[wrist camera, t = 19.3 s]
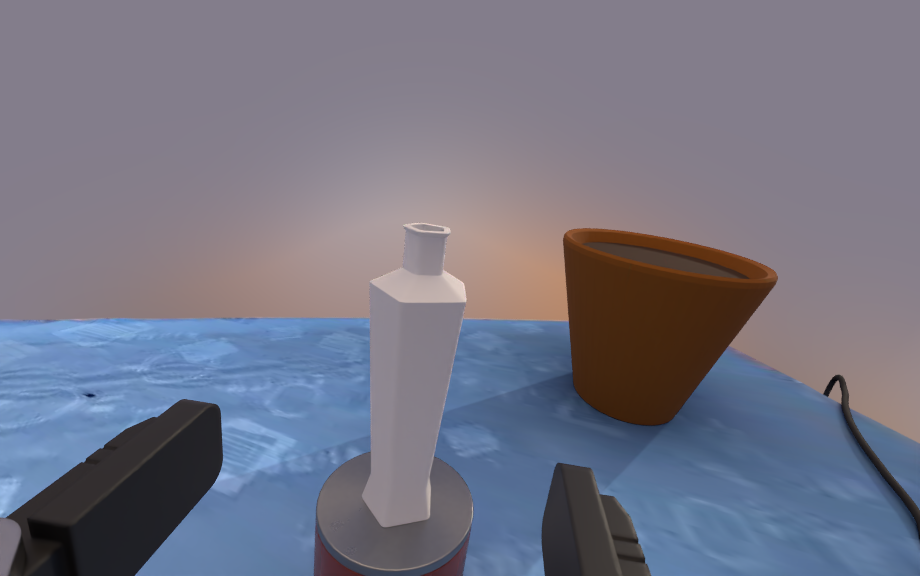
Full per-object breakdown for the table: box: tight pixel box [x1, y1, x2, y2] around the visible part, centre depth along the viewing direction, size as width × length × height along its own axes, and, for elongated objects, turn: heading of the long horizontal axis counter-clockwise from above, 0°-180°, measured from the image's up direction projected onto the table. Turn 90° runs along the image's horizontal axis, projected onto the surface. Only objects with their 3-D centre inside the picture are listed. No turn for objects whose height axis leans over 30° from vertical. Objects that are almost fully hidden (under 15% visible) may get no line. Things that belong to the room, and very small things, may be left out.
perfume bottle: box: [362, 223, 467, 527], centre depth 21 cm, size 5×4×15 cm
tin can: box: [314, 452, 473, 576], centre depth 25 cm, size 8×8×10 cm
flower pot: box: [563, 228, 778, 425], centre depth 56 cm, size 24×24×20 cm
